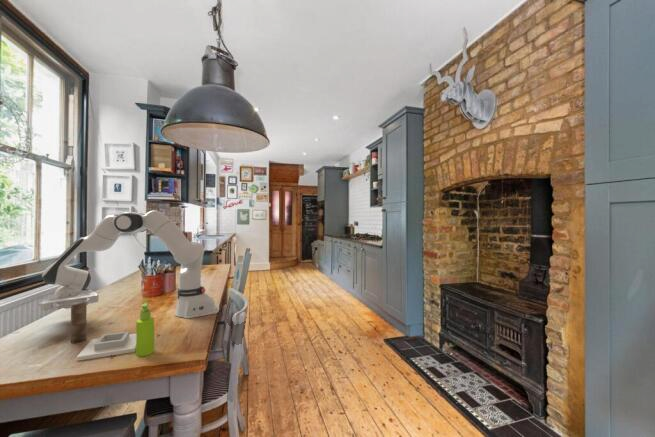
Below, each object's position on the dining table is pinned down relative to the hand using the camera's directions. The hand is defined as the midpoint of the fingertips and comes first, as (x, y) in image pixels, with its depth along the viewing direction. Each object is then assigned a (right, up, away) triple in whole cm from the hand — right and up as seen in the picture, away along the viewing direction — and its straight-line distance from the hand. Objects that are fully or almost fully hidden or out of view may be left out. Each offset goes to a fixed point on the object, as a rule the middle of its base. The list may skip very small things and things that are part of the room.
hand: (73, 305), depth 129 cm
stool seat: (+28, -13, -14) cm, 34 cm away
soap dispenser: (+45, -14, -18) cm, 50 cm away
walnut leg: (+9, -13, -8) cm, 18 cm away
